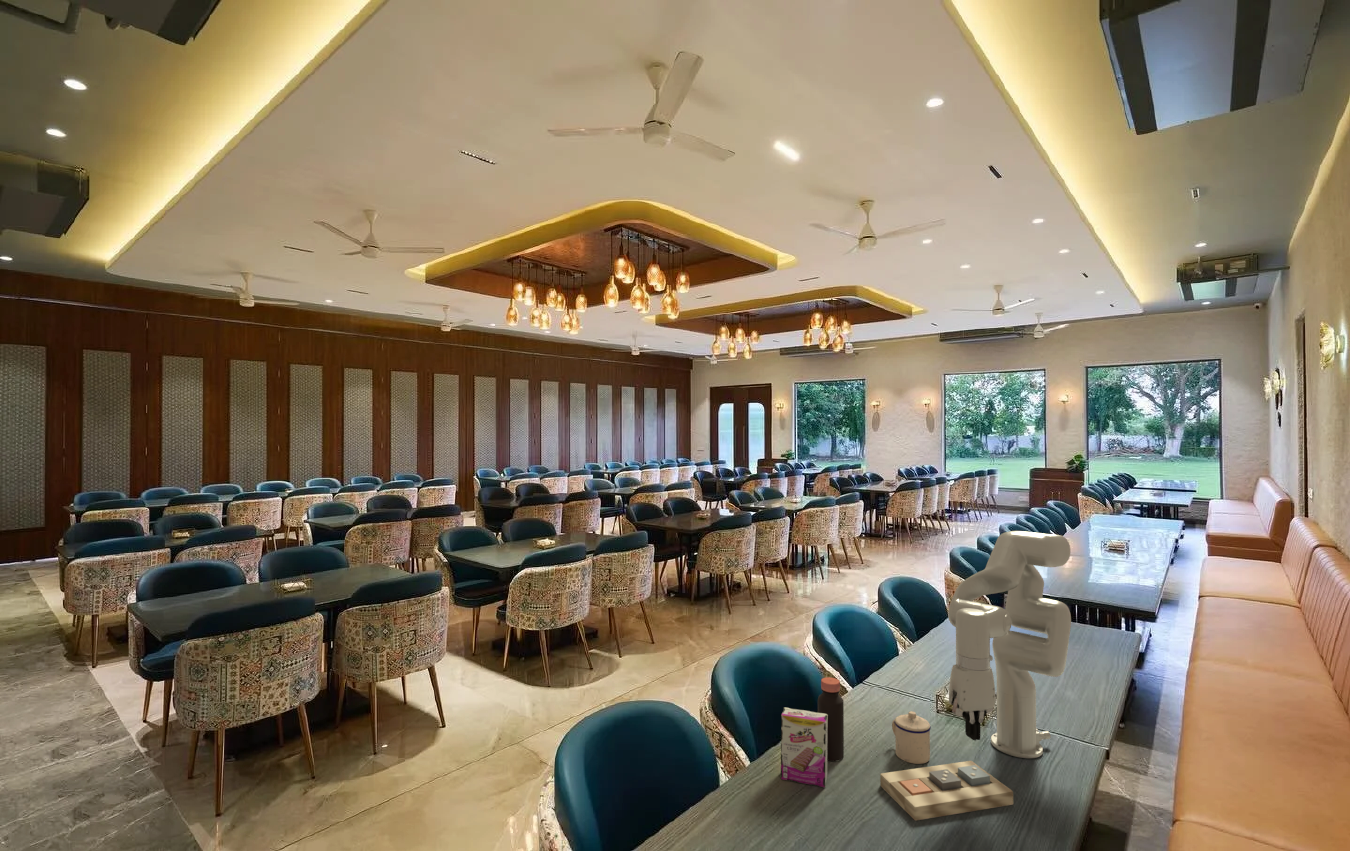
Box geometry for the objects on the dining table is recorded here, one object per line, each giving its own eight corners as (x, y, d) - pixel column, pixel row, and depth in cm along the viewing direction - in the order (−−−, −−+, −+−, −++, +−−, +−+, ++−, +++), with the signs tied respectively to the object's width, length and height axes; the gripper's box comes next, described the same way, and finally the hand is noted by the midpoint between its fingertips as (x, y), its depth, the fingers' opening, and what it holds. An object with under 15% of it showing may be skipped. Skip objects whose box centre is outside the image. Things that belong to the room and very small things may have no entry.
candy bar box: (780, 780, 154) (780, 714, 154) (783, 770, 158) (783, 706, 159) (826, 789, 150) (825, 721, 150) (828, 778, 155) (827, 712, 155)
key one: (918, 791, 149) (918, 778, 149) (931, 803, 144) (931, 789, 144) (900, 793, 147) (900, 780, 147) (912, 806, 143) (912, 792, 143)
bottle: (845, 763, 162) (844, 686, 162) (818, 760, 163) (818, 684, 163) (842, 749, 168) (842, 676, 169) (817, 747, 170) (816, 675, 170)
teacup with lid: (938, 760, 163) (938, 716, 163) (911, 768, 159) (911, 722, 159) (905, 740, 174) (905, 698, 174) (880, 746, 170) (879, 704, 171)
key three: (947, 781, 150) (947, 768, 150) (961, 793, 146) (961, 779, 146) (929, 784, 149) (929, 771, 149) (942, 795, 144) (942, 782, 144)
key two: (975, 777, 152) (975, 764, 152) (990, 788, 147) (989, 775, 147) (957, 779, 151) (957, 767, 151) (972, 791, 146) (972, 778, 146)
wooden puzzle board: (971, 772, 157) (971, 760, 157) (1013, 804, 144) (1013, 791, 144) (880, 785, 151) (880, 773, 151) (915, 820, 138) (915, 807, 138)
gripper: (987, 653, 155) (987, 727, 155) (936, 658, 152) (936, 733, 151) (1010, 664, 148) (1010, 741, 147) (956, 669, 144) (956, 748, 144)
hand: (972, 737), depth 149 cm, fingers closed
